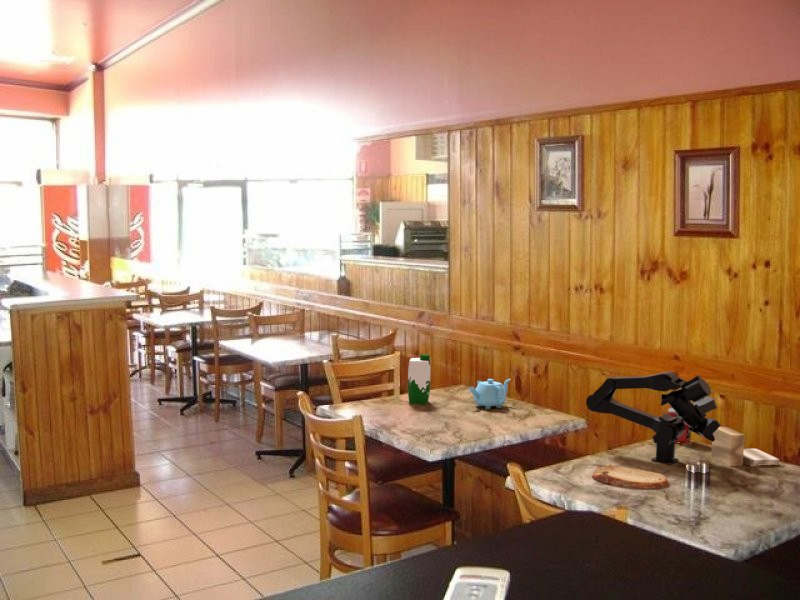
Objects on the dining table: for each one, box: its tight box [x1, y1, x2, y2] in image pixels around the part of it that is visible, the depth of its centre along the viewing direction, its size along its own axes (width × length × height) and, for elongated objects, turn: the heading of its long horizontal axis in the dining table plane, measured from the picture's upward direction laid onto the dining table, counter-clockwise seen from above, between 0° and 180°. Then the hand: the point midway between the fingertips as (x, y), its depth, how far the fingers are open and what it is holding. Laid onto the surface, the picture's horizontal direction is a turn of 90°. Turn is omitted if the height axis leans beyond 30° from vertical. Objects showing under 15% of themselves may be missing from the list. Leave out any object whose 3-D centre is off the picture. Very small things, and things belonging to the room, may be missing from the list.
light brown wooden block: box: [710, 426, 745, 467], centre depth 277 cm, size 4×11×10 cm, turn 10°
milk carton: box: [407, 353, 431, 405], centre depth 355 cm, size 9×9×20 cm
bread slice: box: [591, 464, 670, 489], centre depth 254 cm, size 18×18×4 cm
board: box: [743, 448, 780, 466], centre depth 279 cm, size 10×13×2 cm
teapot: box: [468, 378, 511, 410], centre depth 351 cm, size 15×14×11 cm
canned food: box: [667, 407, 692, 444], centre depth 302 cm, size 8×8×11 cm
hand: (713, 440), depth 276 cm, fingers closed
